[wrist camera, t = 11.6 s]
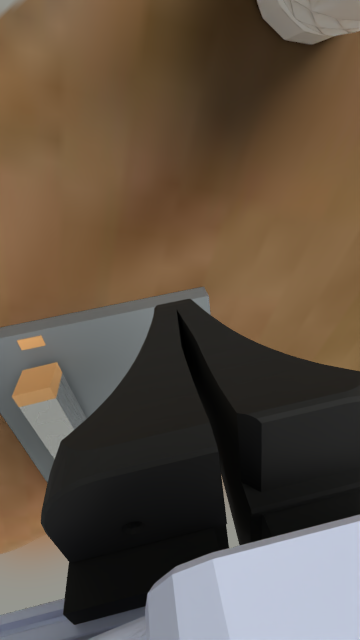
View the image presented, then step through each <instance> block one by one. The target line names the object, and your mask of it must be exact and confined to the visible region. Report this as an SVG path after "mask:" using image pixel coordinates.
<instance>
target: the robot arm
mask: <svg viewBox="0 0 360 640" xmlns="http://www.w3.org/2000/svg"><path fill="white" fill-rule="evenodd" d="M221 475H222V479H223V482H224V486H225V490H226V493H227V497H228V502H229V505H230V509H231V513H232V517H233V521H234V525H235V529H236V533H237V536H238V541H239V544H240V546H236V547H233V548H229V545H228V537H227V529H226V524H227V521H226V512H225V504H224V496H223V488H222V479H221ZM41 524H42V526H43V528H44V530H45V532H46V534H47V535H48V536H49V537H50V539H51V540H52V541H53V542H54V544H55V545H56V546H57V547H58V548H59V550H60V551H61V552H62V553H63V555H64V556H65V557H66V558H67V559H68V561H69V568H68V577H67V584H66V592H65V598H64V599H61V600H57V601H53V602H49V603H45V604H41V605H38V606H34V607H30V608H26V609H22V610H18V611H14V612H10V613H6V614H3V615H0V640H360V372H359V371H354V370H349V369H344V368H339V367H333V366H328V365H323V364H319V363H315V362H311V361H308V360H304V359H300V358H297V357H294V356H290V355H287V354H284V353H282V352H279V351H276V350H273V349H271V348H268V347H266V346H263V345H261V344H258V343H256V342H254V341H252V340H250V339H248V338H246V337H244V336H242V335H240V334H238V333H236V332H235V331H233V330H231V329H230V328H228V327H227V326H225V325H224V324H222V323H221V322H219V321H218V320H217V319H215V318H214V317H212V316H211V315H210V314H208V313H207V312H206V311H205V310H203V309H202V308H201V307H200V306H199V305H198V304H196V303H195V302H194V301H193V300H191V299H185V300H180V301H175V302H170V303H165V304H160V305H156V307H155V308H154V315H153V319H152V322H151V326H150V328H149V331H148V334H147V337H146V339H145V341H144V343H143V345H142V347H141V350H140V352H139V354H138V356H137V357H136V359H135V361H134V363H133V364H132V366H131V367H130V369H129V371H128V372H127V374H126V375H125V376H124V378H123V379H122V380H121V382H120V383H119V385H118V386H117V387H116V388H115V390H114V391H113V392H112V393H111V395H110V396H109V397H108V398H107V399H106V400H105V401H104V402H103V403H102V404H101V405H100V406H99V407H98V408H97V409H96V410H95V411H94V412H93V413H92V414H91V415H90V416H89V417H88V418H87V419H86V420H85V421H84V422H82V423H81V424H80V425H79V426H78V427H77V428H76V429H74V430H73V431H72V432H71V433H70V434H69V435H68V436H66V437H65V438H64V439H63V440H61V442H60V445H59V448H58V451H57V454H56V457H55V459H54V462H53V465H52V468H51V471H50V475H49V479H48V484H47V489H46V493H45V498H44V503H43V507H42V513H41Z"/></svg>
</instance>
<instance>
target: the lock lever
mask: <svg viewBox="0 0 360 640" xmlns="http://www.w3.org/2000/svg"><path fill="white" fill-rule="evenodd" d="M12 398H13V399H14V401H15V402H16V404H17V405H18V407H19V408H20V410H21V411H22V412H23V414H24V415H25V417H26V418H27V420H28V421H29V423H30V424H31V426H32V427H33V429H34V430H35V432H36V433H37V434H38V436H39V437H40V439H41V440H42V442H43V443H44V445H45V446H46V448H47V449H48V451H49V452H50V454H51V455H52V456H53V458H54V459H55V457H56V454H57V451H58V448H59V445H60V442H61V440H63V439H64V438H65V437H66V436H68V435H69V434H70V433H71V432H72V431H73V430H74V429H76V428H77V427H78V426H79V425H80V424H81V423H82V422H84V421H85V420H86V417H85V415H84V413H83V411H82V409H81V407H80V405H79V403H78V401H77V400H76V398H75V396H74V394H73V392H72V390H71V388H70V386H69V384H68V382H67V380H66V378H65V376H64V375H63V373H62V371H61V369H60V367H59V365H58V363H57V362H55V363H51V364H47V365H43V366H38V367H34V368H30V369H26V370H23V371H22V373H21V375H20V378H19V380H18V383H17V385H16V387H15V390H14V392H13V395H12Z"/></svg>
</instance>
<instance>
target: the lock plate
mask: <svg viewBox="0 0 360 640" xmlns="http://www.w3.org/2000/svg"><path fill="white" fill-rule="evenodd" d="M185 299H191V300H193V301H194V302H195V303H196V304H198V305H199V306H200V307H201V308H202V309H203V310H205V311H206V312H207V313H208V314H210V305H209V296H208V294H207V292H206V290H205V288H204V287H200V288H195V289H190V290H185V291H180V292H175V293H170V294H165V295H160V296H155V297H150V298H145V299H140V300H135V301H130V302H125V303H120V304H115V305H110V306H105V307H100V308H95V309H90V310H86V311H81V312H76V313H71V314H66V315H61V316H56V317H51V318H46V319H41V320H36V321H31V322H26V323H21V324H16V325H11V326H6V327H1V328H0V413H1V415H2V416H3V418H4V419H5V421H6V422H7V424H8V425H9V427H10V428H11V430H12V431H13V433H14V434H15V435H16V437H17V438H18V440H19V441H20V443H21V444H22V446H23V447H24V449H25V450H26V452H27V453H28V455H29V456H30V458H31V459H32V461H33V462H34V464H35V465H36V467H37V468H38V469H39V471H40V472H41V474H42V475H43V477H44V478H45V480H46V481H47V483H48V479H49V475H50V471H51V468H52V465H53V462H54V458H53V456H52V455H51V454H50V452H49V451H48V449H47V448H46V446H45V445H44V443H43V442H42V440H41V439H40V437H39V436H38V434H37V433H36V432H35V430H34V429H33V427H32V426H31V424H30V423H29V421H28V420H27V418H26V417H25V415H24V414H23V412H22V411H21V410H20V408H19V407H18V405H17V404H16V402H15V401H14V399H13V398H12V395H13V392H14V390H15V387H16V385H17V383H18V380H19V378H20V375H21V373H22V371H23V370H26V369H30V368H34V367H38V366H43V365H47V364H51V363H55V362H57V363H58V365H59V367H60V369H61V371H62V373H63V375H64V376H65V378H66V380H67V382H68V384H69V386H70V388H71V390H72V392H73V394H74V396H75V398H76V400H77V401H78V403H79V405H80V407H81V409H82V411H83V413H84V415H85V417H86V419H87V418H88V417H89V416H90V415H91V414H92V413H93V412H94V411H95V410H96V409H97V408H98V407H99V406H100V405H101V404H102V403H103V402H104V401H105V400H106V399H107V398H108V397H109V396H110V395H111V393H112V392H113V391H114V390H115V388H116V387H117V386H118V385H119V383H120V382H121V380H122V379H123V378H124V376H125V375H126V374H127V372H128V371H129V369H130V367H131V366H132V364H133V363H134V361H135V359H136V357H137V356H138V354H139V352H140V350H141V347H142V345H143V343H144V341H145V339H146V337H147V334H148V331H149V328H150V326H151V322H152V319H153V315H154V308H155V307H156V305H160V304H165V303H170V302H175V301H180V300H185Z"/></svg>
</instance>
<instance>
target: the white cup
mask: <svg viewBox="0 0 360 640" xmlns="http://www.w3.org/2000/svg"><path fill="white" fill-rule="evenodd" d="M256 1H257V4H258V6H259V9H260V12H261V15H262V18H263V19H264V20H265V21H266V22H267V23H268V24H269V25H270V26H271V27H272V28H273V29H274V30H275V31H276V32H277V33H278V34H279V35H280V36H281V37H282V38H283V39H284V40H287V41H293V42H299V43H305V44H310V45H312V44H315V43H318V42H321V41H323V40H326V39H329V38H331V37H334V36H337V35H342V34H349V33H355V32H358V31H360V0H256Z"/></svg>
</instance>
